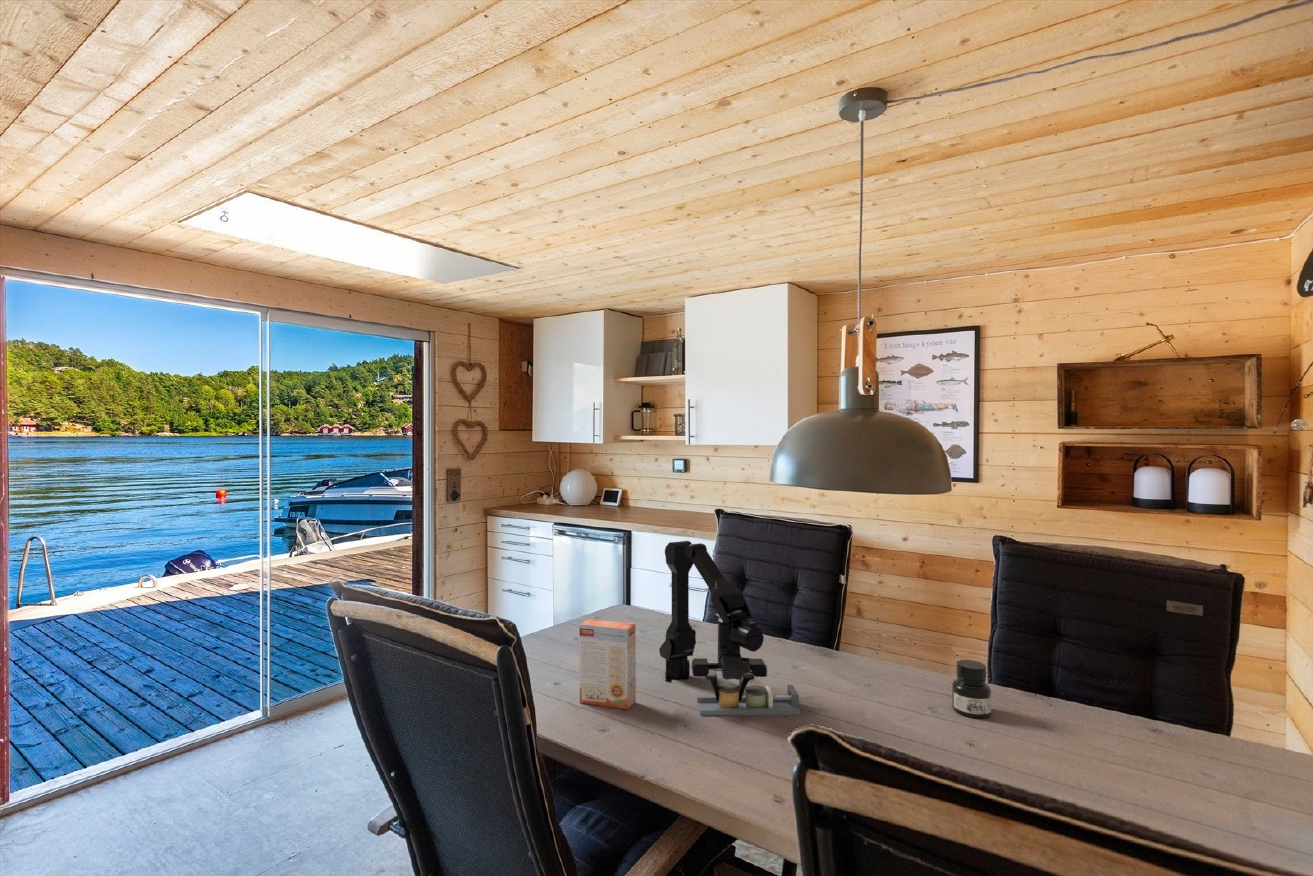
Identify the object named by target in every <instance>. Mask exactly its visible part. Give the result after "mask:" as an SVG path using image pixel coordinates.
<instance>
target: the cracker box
mask: <svg viewBox="0 0 1313 876" xmlns="http://www.w3.org/2000/svg"><path fill="white" fill-rule="evenodd" d="M636 640H637V639H636V623H632V622H623V621H614V620H613V621H611V620H601V619H593V618H589V619H586V620H585V621H583V622H581V623H580V624H579V661H578V662H579V676H578V677H579V703H582V704H586V705H593V706H594V705H595V706H600V707H607V708H613V709H619V710H620V709H621V710H626V711H627V710H629V709H630V708H631V707H632V706H633V705H634V704H635V703H636V701H637V700H636V699H637V696H636V692H637V690H636V688H637V685H636V681H637V679H636V677H637V674H636V672H637V671H636V670H637V668H636V667H637V665H636V664H637V663H636V660H637V659H636V657H637V656H636V650H637V647H636V643H637V642H636Z"/></svg>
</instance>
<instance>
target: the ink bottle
mask: <svg viewBox="0 0 1313 876" xmlns="http://www.w3.org/2000/svg"><path fill="white" fill-rule="evenodd" d="M955 663H956V670H955V671H956V677H957V678H955V679H954V680H953V681H952V684H951V690H952V691H951V700H952V701H951V702H952V703H951V706H952V709H953V710H954V712H956V713H958V714H959V715H962V716H964V717H965V716H966V717H969V718H975V719H986V718H988V717H990V716H991V715H992V689H991V687H990V686H989V685H988V684H987V666H986V664H984V663H983V662H980V661H977V660H973V659H972V660H971V659H960V660H957V661H956V662H955Z"/></svg>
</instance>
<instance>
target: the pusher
mask: <svg viewBox="0 0 1313 876" xmlns="http://www.w3.org/2000/svg"><path fill="white" fill-rule="evenodd" d="M763 687H765V688H766V689H767V693H766V706H767V708H773V700H792V695H787V694H786V695H787V696H773V693H772V691H771V688H770V686H769V685H764V686H763ZM814 698H815V696H814V695H812V694H811V695H810V694H809V695H807V694H805V695H803V694H799V701H800V700H803V701H805V700H809V701H810V700H814Z"/></svg>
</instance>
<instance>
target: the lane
mask: <svg viewBox="0 0 1313 876" xmlns="http://www.w3.org/2000/svg"><path fill="white" fill-rule="evenodd" d="M786 690H787V691H786V692H787V694H782V695H781V694H780V695H779V694H777V695H775V694H774V695H773V696H787V695H792V700H773V708H767V706H766V708H746V695H743V696H742V699H741V701H740V702H739V707H738V708H721V707H720V706H719V705H718V701H717V699H716V695H696V702H697V707H698V712H699V716H783V715H784V716H791V715H792V716H794V715H796V716H798V715H799V716H800V715H801V709H800V700H799V695H800V694H799V693H798V691H797V690H796V688H795V686H794V685H793V684H787V688H786Z"/></svg>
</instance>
